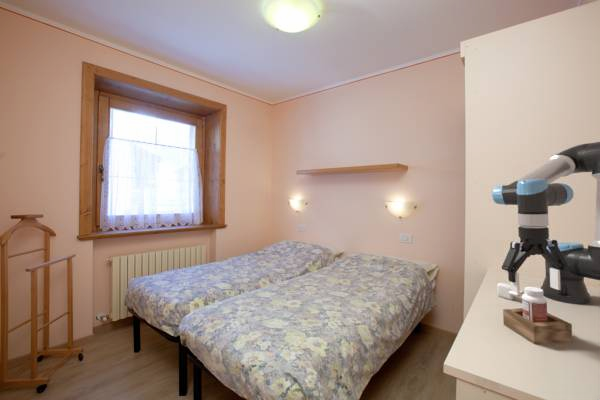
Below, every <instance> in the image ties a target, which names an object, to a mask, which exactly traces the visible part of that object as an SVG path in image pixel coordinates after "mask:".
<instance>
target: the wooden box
mask: <svg viewBox="0 0 600 400" xmlns="http://www.w3.org/2000/svg"><path fill="white" fill-rule="evenodd" d="M502 313H503V314H502V315H503V316H502V317H503V326H505V327H507V328H508V329H510V330H511V331H513V332H514V333H516V334H518V335H520V336H521V338H523V339H526V340H527V341H529V342H530V343H532V344H533V345H539V344H541V345H542V344H555V343H572V342H573V325H572V323H570V322H568V321H566V320H564V319H562V318H560V317H558V316H555V315H553V314H551V313H549V312H547V319H548V322H542V323H533V322H532V321H530V320H528V319H526V318H524V317H523V307H521V308H520V307H519V308H504V309H502Z"/></svg>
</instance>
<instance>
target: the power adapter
mask: <svg viewBox="0 0 600 400" xmlns="http://www.w3.org/2000/svg"><path fill="white" fill-rule="evenodd" d="M496 291H497V294H496V295H497V296H498V297H499V296H500V298H502V297H503V299H505V298H506V300H510V301H513V300H515V299H517V297H518V298H520V297H522V295H523V294H525V291H523V290H520V293H516V292H514V291H512V290H511V285H510V283H505V282H499V283H497V285H496Z"/></svg>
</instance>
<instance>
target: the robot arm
mask: <svg viewBox="0 0 600 400" xmlns="http://www.w3.org/2000/svg"><path fill="white" fill-rule="evenodd" d="M578 173H580V174H581V173H591V177H593V178H594V179H595V180H596V192H595V195H596V197H595V215H594V232H593V233H594V235H593V241H592V242H590V243H588V245H587V248H585V246H584V244H583V243H580V242H558V240H557V239H551V238H550V233H549V232H550V229H549V227H548V226H549V207H554V206H562V205H566V204H569V203H570V202H571V201H572V199H573V198H574V190H573V188H572V186H569V185H568V184H565V183H561V182H555V181H557V180H559V179H561V178H564V177H565V178H566V177H568V176H570V175H571V174H578ZM491 196H492V197H491V198H492V200H493V202H494V203H495V204H498V205H505V206H509V205H510V206H514V205H515V206H517V223H518V227H517V228H518V229H517V230H518V237H519V238H520V240H519V241H517V242H516V241H511V242H510V246H509V250H508V252H507V254H506V257H505V259H504V261H503V263H502V266H501V270H504V271H506V272H507V273H508V275H507V276H508V282H510V283H509V284H510V285H511V290H512V291H514V292H516V293H520V291H521V290H520V289H521V287H520V286H521V285H520V273H519V272H518V270H519V269H520V268H521V266H522V265H523V264H524V262H525V261H526V260H527V259H528V258H530V257H531V256H536V255H539V256H542V258H543V259H544V261H545V262H544V264H545V267H544V268H545V277H544V279H543V281H542V282H543V283H542V285H541V286H540V289H542V290H543V295H542V296H543V297H545V298H548V299H551V300H555V301H558V302H563V303H568V304H578V305H581V304H582V305H583V304H585V305H586V304H589V303H591V300H592V298H591V294H590V293H589V292H588V288H587V285H586V283H585V278H586V279H592V280H594V281H595V280H596V281H600V141H597V142H596V141H595V142H589V143H582V144H578V145H575V146H572V147H569V148H567V149H564V150H562V151H561V152H559V153H556V154H555V155H553V156H551V157H549V158H548V159H547V160H546V163H543V164H542V165H540V166H539V167H537V168H535V169H534V170H531V171H530V172H529V173H526V174H525V175H523V176H522V177H520V178H518V179H516V180H515V181H513V182H512V183H509V184H507V185H505V184H502V185H497V186H495V187H494V188H493V190H492V193H491Z"/></svg>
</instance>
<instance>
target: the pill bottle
mask: <svg viewBox="0 0 600 400" xmlns="http://www.w3.org/2000/svg"><path fill="white" fill-rule="evenodd" d="M524 293H525V294H523V295H522V296H521V301H522V302H521V303H522V304H521V305H522V307H521V308H523V317H524V318H526V319H528V320H530V321H532V322H533V323H542V322H548V319H547V313H548V301H547V297H546V296H544V295H543V290H542V289H541V287H536V286H526V287H524Z"/></svg>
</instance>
